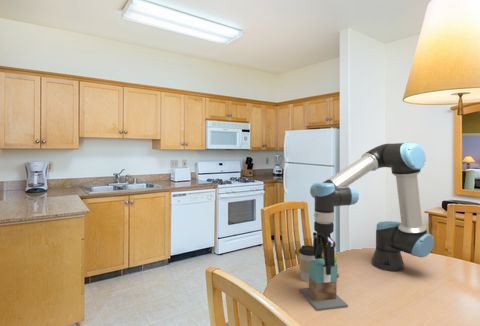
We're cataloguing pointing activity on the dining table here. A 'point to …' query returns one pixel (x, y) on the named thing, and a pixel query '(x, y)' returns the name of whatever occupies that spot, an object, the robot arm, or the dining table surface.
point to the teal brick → (320, 271)
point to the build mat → (325, 303)
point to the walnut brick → (322, 290)
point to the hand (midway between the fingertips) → (322, 278)
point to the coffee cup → (305, 261)
